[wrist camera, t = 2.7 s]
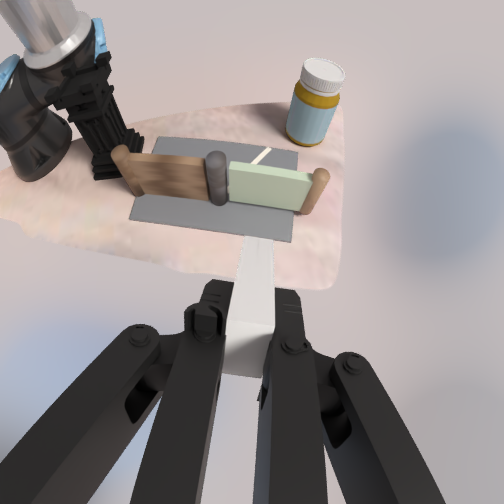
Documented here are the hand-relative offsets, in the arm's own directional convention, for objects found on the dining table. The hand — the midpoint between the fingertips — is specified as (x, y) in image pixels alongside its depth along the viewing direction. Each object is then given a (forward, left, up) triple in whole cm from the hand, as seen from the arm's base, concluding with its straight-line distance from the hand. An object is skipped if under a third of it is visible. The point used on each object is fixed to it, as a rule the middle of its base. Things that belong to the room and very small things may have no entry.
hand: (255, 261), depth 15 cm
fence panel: (+2, +15, -21) cm, 26 cm away
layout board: (-7, +18, -22) cm, 30 cm away
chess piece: (-25, +21, -23) cm, 40 cm away
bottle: (+6, +31, -23) cm, 39 cm away
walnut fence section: (-12, +15, -22) cm, 29 cm away
